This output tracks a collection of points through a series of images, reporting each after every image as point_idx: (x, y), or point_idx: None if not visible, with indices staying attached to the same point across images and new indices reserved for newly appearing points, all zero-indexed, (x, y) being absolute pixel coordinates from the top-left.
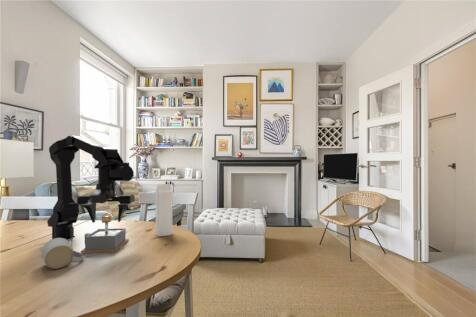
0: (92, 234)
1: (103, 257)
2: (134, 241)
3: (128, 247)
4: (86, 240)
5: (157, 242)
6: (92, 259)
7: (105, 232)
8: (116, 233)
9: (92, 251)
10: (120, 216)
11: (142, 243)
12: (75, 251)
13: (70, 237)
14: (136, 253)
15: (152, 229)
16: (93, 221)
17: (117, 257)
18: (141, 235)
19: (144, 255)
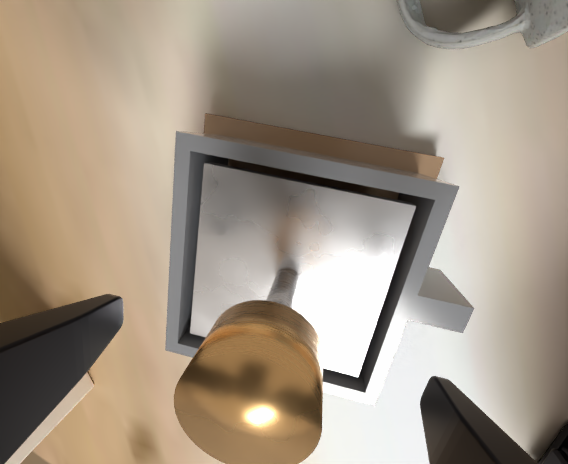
0: (402, 281)
1: (271, 31)
2: (165, 291)
3: (169, 193)
4: (431, 179)
5: (38, 233)
6: (335, 5)
7: (292, 274)
8: (204, 249)
9: (362, 143)
10: (13, 322)
11: (112, 241)
12: (483, 32)
13: (554, 456)
14: (90, 60)
15: (129, 450)
16: (440, 386)
17: (182, 7)
18: (156, 378)
19: (32, 5)
